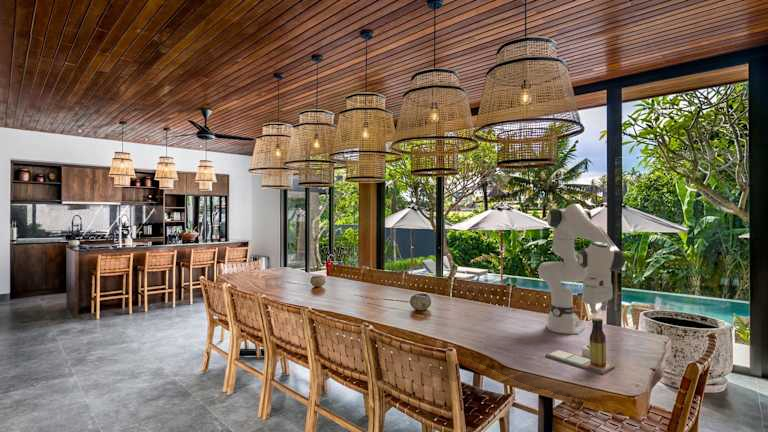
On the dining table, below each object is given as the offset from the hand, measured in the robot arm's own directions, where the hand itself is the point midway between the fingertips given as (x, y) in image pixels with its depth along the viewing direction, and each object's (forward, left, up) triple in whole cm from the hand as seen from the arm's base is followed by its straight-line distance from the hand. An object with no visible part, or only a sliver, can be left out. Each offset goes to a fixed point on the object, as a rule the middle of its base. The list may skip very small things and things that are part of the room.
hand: (598, 312), depth 167 cm
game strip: (0, -8, -24) cm, 25 cm away
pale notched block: (-10, -8, -24) cm, 27 cm away
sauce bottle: (0, 0, -23) cm, 23 cm away
